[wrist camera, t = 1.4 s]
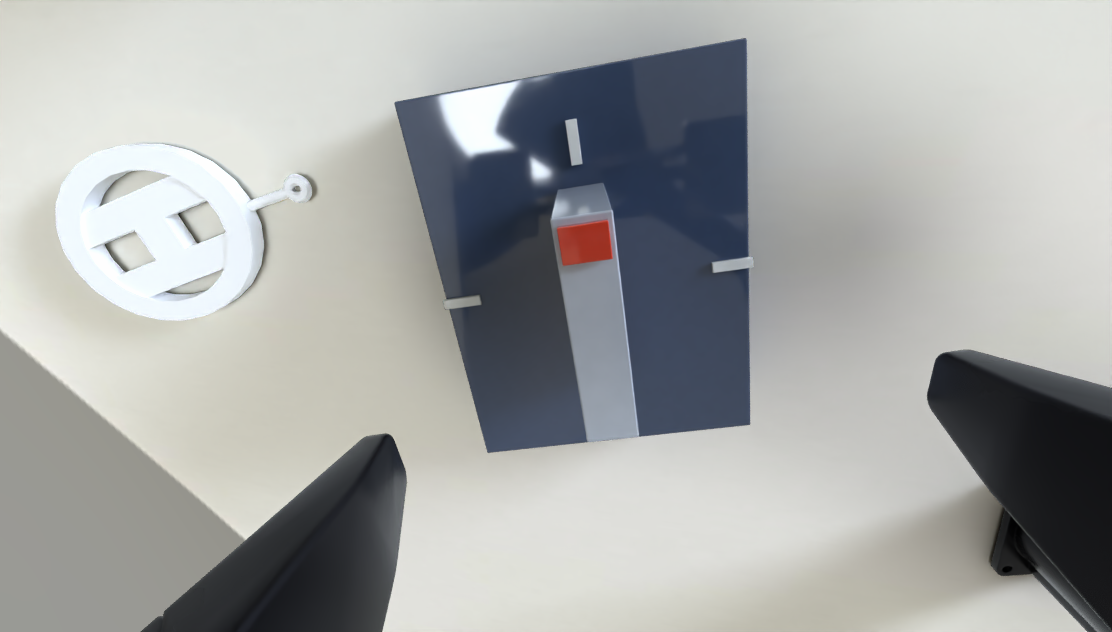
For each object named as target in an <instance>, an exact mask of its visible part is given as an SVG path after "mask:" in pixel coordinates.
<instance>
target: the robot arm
mask: <svg viewBox="0 0 1112 632" xmlns="http://www.w3.org/2000/svg"><path fill="white" fill-rule="evenodd" d="M927 400H928V404H929V406H930V409H931V410H932V412H933V413H934V415H935V416H936V417H937V419H938V420H939V421H940V423H941V424H942V426H943V427H944V428H945V430H946V431H947V433H948V434H949V435H950V437H951V438H952V440H953V441H954V442H955V444H956V445H957V447H958V448H959V449H960V451H961V452H962V454H963V455H964V456H965V458H966V459H967V460H968V462H969V463H970V465H971V466H972V467H973V469H974V470H975V472H976V473H977V474H978V476H979V477H980V478H981V480H982V481H983V482H984V484H985V485H986V486H987V488H988V489H989V490H990V492H991V493H992V494H993V495H994V496H995V498H996V499H997V500H998V501H999V502H1000V504H1001V505H1002V506H1003V507H1004V508H1005V510H1004V514H1003V518H1002V522H1001V526H1000V530H999V534H998V538H997V542H996V546H995V550H994V554H993V558H992V562H991V566H992V568H993V569H994V570H995V571H996V572H997V573H998V574H999V575H1001V576H1011V575H1024V574H1033V575H1034V576H1035V578H1036V579H1037V580H1038V581H1039V582H1040V583H1041V584H1042V585H1043V586H1044V587H1045V588H1046V589H1047V590H1048V591H1049V592H1050V593H1051V594H1052V595H1053V596H1054V597H1055V598H1056V599H1057V600H1058V602H1059V603H1060V604H1061V605H1062V606H1063V607H1064V608H1065V609H1066V610H1067V611H1068V612H1069V613H1070V614H1071V615H1072V616H1073V617H1074V618H1075V619H1076V620H1077V621H1078V622H1079V623H1080V624H1081V626H1082V627H1083V628H1084V629H1085V630H1086V631H1087V632H1112V388H1110V387H1106V386H1103V385H1099V384H1095V383H1092V382H1088V381H1084V380H1081V379H1077V378H1073V377H1070V376H1066V375H1062V374H1058V373H1055V372H1051V371H1047V370H1044V369H1040V368H1036V367H1033V366H1029V365H1025V364H1021V363H1018V362H1014V361H1010V360H1007V359H1003V358H999V357H996V356H992V355H988V354H985V353H981V352H977V351H973V350H958V351H951V352H945V353H942V354H940V355H939V356H938V357H937V358H936V360H935V363H934V367H933V371H932V376H931V380H930V384H929V388H928V392H927ZM406 484H407V478H406V471H405V468H404V465H403V462H402V460H401V457H400V454H399V452H398V449H397V446H396V444H395V441H394V439H393V437H392V436H391V435H389V434H386V433H385V434H378V435H371V436H366V437H364V438H363V439H361V440H360V441H359V442H358V443H357V444H356V445H354V446H353V447H352V448H351V449H350V450H349V451H348V452H346V453H345V454H344V455H343V456H342V457H341V458H340V459H338V460H337V461H336V462H335V463H334V464H333V465H332V466H330V467H329V468H328V469H327V470H326V471H325V472H323V473H322V474H321V475H320V476H319V477H318V478H317V479H315V480H314V481H313V482H312V483H311V484H310V485H309V486H307V487H306V488H305V489H304V490H303V491H302V492H301V493H299V494H298V495H297V496H296V497H295V498H294V499H293V500H291V501H290V502H289V503H288V504H287V505H286V506H285V507H283V508H282V509H281V510H280V511H279V512H278V513H276V514H275V515H274V516H273V517H272V518H271V519H270V520H268V521H267V522H266V523H265V524H264V525H263V526H262V527H260V528H259V529H258V530H257V531H256V532H255V533H254V534H252V535H251V536H250V537H249V538H248V539H247V540H245V541H244V542H243V543H242V544H241V545H240V546H239V547H237V548H236V549H235V550H234V551H233V552H232V553H231V554H229V555H228V556H227V557H226V558H225V559H224V560H223V561H222V562H220V563H219V564H218V565H217V566H216V567H214V568H213V569H212V570H211V571H210V572H209V573H208V574H206V576H204V577H203V578H202V579H201V580H200V581H199V582H197V583H196V584H195V585H194V586H193V587H192V588H190V589H189V590H188V591H187V592H186V593H185V594H183V595H182V596H181V597H180V598H179V599H178V600H177V601H176V602H174V603H173V604H172V605H171V606H170V607H169V608H167V609H166V610H165V611H164V614H163V616H159V617H157V618H156V619H155V620H154V621H152V622H151V623H150V624H149V625H148V626H147V627H146V628H144V629H143V630H142V631H141V632H382V630H383V626H384V621H385V617H386V613H387V609H388V604H389V600H390V596H391V591H392V587H393V582H394V577H395V572H396V566H397V559H398V551H399V543H400V534H401V526H402V518H403V509H404V501H405V493H406Z"/></svg>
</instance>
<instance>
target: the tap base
mask: <svg viewBox="0 0 1112 632" xmlns="http://www.w3.org/2000/svg"><path fill="white" fill-rule="evenodd" d="M395 107H396V111H397V115H398V119H399V122H400V126H401V130H402V134H403V137H404V141H405V145H406V149H407V152H408V156H409V160H410V164H411V167H412V171H413V175H414V179H415V182H416V186H417V190H418V194H419V197H420V201H421V205H422V209H423V212H424V216H425V220H426V224H427V227H428V231H429V235H430V239H431V242H432V246H433V250H434V254H435V257H436V261H437V265H438V269H439V272H440V276H441V280H442V284H443V287H444V291H445V295H446V299H445V300H443V304H444V308H445V310H447V309H449V310H450V314H451V317H452V321H453V325H454V329H455V332H456V336H457V340H458V344H459V347H460V351H461V355H462V359H463V362H464V366H465V370H466V374H467V377H468V381H469V385H470V389H471V392H472V396H473V400H474V404H475V407H476V411H477V415H478V419H479V422H480V426H481V430H482V434H483V437H484V441H485V445H486V449H487V452H488V453H491V452H500V451H510V450H519V449H528V448H538V447H547V446H556V445H566V444H575V443H585V442H588V441H587V438H586V432H585V426H584V420H583V414H582V408H581V402H580V396H579V390H578V384H577V378H576V372H575V366H574V360H573V354H572V348H571V342H570V336H569V330H568V324H567V318H566V313H565V307H564V301H563V295H562V289H561V283H560V277H559V271H558V265H557V259H556V253H555V247H554V241H553V235H552V229H551V223H550V220H551V215H552V211H553V206H554V202H555V197H556V193H557V190H560V189H566V188H573V187H579V186H585V185H592V184H598V183H604V185H605V188H606V191H607V194H608V198H609V201H610V204H611V207H612V210H613V216H614V224H615V233H616V242H617V250H618V259H619V267H620V276H621V285H622V293H623V302H624V310H625V319H626V327H627V336H628V345H629V353H630V362H631V370H632V379H633V388H634V396H635V405H636V413H637V422H638V431H639V436H638V437H641V436H650V435H659V434H669V433H678V432H687V431H697V430H706V429H715V428H725V427H734V426H744V425H750V348H749V268H753V257H749V239H748V130H747V39H746V38H743V39H737V40H732V41H726V42H721V43H715V44H710V45H704V46H699V47H693V48H688V49H682V50H677V51H671V52H666V53H660V54H655V55H650V56H644V57H639V58H633V59H628V60H622V61H617V62H611V63H606V64H600V65H595V66H589V67H584V68H578V69H573V70H567V71H562V72H556V73H551V74H545V75H540V76H534V77H529V78H523V79H518V80H512V81H507V82H501V83H496V84H490V85H485V86H479V87H474V88H468V89H463V90H457V91H452V92H447V93H441V94H436V95H430V96H425V97H419V98H414V99H408V100H403V101H397V102H395Z"/></svg>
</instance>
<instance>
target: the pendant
mask: <svg viewBox="0 0 1112 632" xmlns="http://www.w3.org/2000/svg"><path fill="white" fill-rule="evenodd" d="M135 170H149V171H154V172H158V173H162V174H166V175H170V176H169V177H166V178H164V179H162V180H159V181H157V182H155V183H152V184H150V185H148V186H146V187H143V188H141V189H139V190H136V191H134V192H132V193H129V194H127V195H125V196H123V197H120V198H118V199H116V200H113V201H111V202H109V203H106V204H104V205H102V206H100V204H101V201H102V198H103V195H104V193H105V192H106V191H107V190H108V188H109V187H110V186H111V184H112V183H113V182H114V181H116V180H117V179H119V178H120V177H122V176H123V175H125V174H126V173H128V172H132V171H135ZM295 186H300V188H301V191H300V192H297V191H296V190H295ZM311 196H312V188H311V185H310V183H309V182H308V180H307V179H306V178H304V177H303V176H302V175H298V174H292V175H289V176H288V177H286V179H285V181H284V188H282V189H280V190H277V191H274V192H272V193H269V194H266V195H264V196H261V197H258V198H256V199H253V200H250V198H249V197H248V196H247V194H246V193H245V192H244V191H243V189H242V188H241V187H240V185H239V184H238V183H237V181H236V180H235V179H234V178H232V177H231V176H230V175H229V174H227V173H226V172H225V171H224V170H223V169H221V168H220V167H219V166H218V165H216V164H215V163H214V162H212V161H210V160H208V159H206V158H204V157H202V156H200V155H198V154H196V153H194V152H192V151H190V150H186V149H182V148H178V147H174V146H170V145H166V144H131V145H121V146H116V147H113V148H109V149H106V150H102V151H99V152H95V153H93V154H92V155H90V156H89V157H87V158H86V159H85V160H83V161H82V162H80V163H79V164H77V165H76V166H75V167H74V168H73V169H72V171H71V172H70V173H69V175H68V176H67V177H66V179H65V180H64V181H63V183H62V185H61V188H60V191H59V195H58V198H57V201H56V205H55V208H56V229H57V232H58V236H59V239H60V242H61V245H62V248H63V251H64V253H65V254H66V256H67V258H68V259H69V261H70V262H71V264H72V266H73V267H74V269H75V271H76V272H77V273H78V274H79V275H80V276H81V277H82V278H83V279H84V280H85V281H86V282H87V283H88V285H89V286H90V287H91V288H92V289H93V290H95V291H96V292H97V293H99V294H100V295H102V296H103V297H105V298H106V299H107V300H109V301H110V302H112V303H113V304H115V305H117V306H119V307H121V308H124V309H126V310H128V311H130V312H133V313H135V314H137V315H141V316H146V317H150V318H155V319H159V320H189V319H193V318H197V317H202V316H206V315H209V314H210V313H212V312H214V311H216V310H218V309H220V308H222V307H224V306H225V305H227V304H229V303H231V302H232V301H234V300H236V299H238V298H239V297H240V296H241V295H242V294H243V293H244V292H245V291H246V290H247V289H248V288H249V287H250V286H251V285H252V283H253V281H254V279H255V277H256V275H257V273H258V271H259V269H260V267H261V264H262V258H263V251H264V239H263V232H262V225H261V222H260V219H259V217H258V215H257V212H256V210H257V209H260V208H263V207H265V206H268V205H271V204H274V203H276V202H279V201H282V200H284V199H287V198H290V199H292V200H293V201H294V202H298V203H304V202H306V201H308V200H309V199H310V197H311ZM207 201H208V203H209V204H210V205H211V206H212V208H213V209H214V210H215V211H216V213H217V214H218V216H219V218H220V220H221V222H222V225H223V227H224V229H225V232H226V233H223V234H221V235H218V236H216V237H213V238H211V239H208V240H206V241H203V242H201V243H198V244H197V243H196V241H195V240H194V238H193V237H192V235H191V234H190V232H189V231H188V229H187V228H186V226H185V224H184V223H183V221H182V220H181V218H180V217H179V215H178V213H180V212H183V211H185V210H187V209H190V208H192V207H195V206H197V205H199V204H202V203H204V202H207ZM132 232H136V233H137V234H138V236H139V237H140V239H141V240H142V241H143V243H144V244H145V246H146V247H147V249H148V250H149V251H150V253H151V254H152V256H153V257H154V259H155V260H156V261H153V262H151V263H148V264H146V265H143V266H141V267H138V268H136V269H133V270H131V271H128V272H124V271H123V270H122V268H121V267H120V266H119V265H118V264H117V263H116V262H115V261H114V260H113V259H112V257H111V256H110V254H109V252H108V250H107V249H106V247H105V245H104V244H106V243H108V242H111V241H113V240H115V239H118V238H120V237H123V236H125V235H127V234H130V233H132ZM221 269H224V270H223V272H222V274H221V276H220V278H219V279H218V280H217V281H216V282H215V283H214V284H213V285H212V287H211V288H210V289H209V290H207V291H203V292H199V293H195V294H171V293H167V292H164V291H167V290H170V289H172V288H175V287H177V286H180V285H183V284H185V283H188V282H190V281H193V280H195V279H198V278H201V277H203V276H206V275H208V274H211V273H214V272H216V271H219V270H221Z"/></svg>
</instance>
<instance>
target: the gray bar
mask: <svg viewBox="0 0 1112 632" xmlns="http://www.w3.org/2000/svg"><path fill="white" fill-rule="evenodd" d="M550 223H551V229H552V235H553V241H554V247H555V253H556V259H557V265H558V271H559V277H560V283H561V289H562V295H563V301H564V307H565V313H566V318H567V324H568V330H569V336H570V342H571V348H572V354H573V360H574V366H575V372H576V378H577V384H578V390H579V396H580V402H581V408H582V414H583V420H584V426H585V432H586V438H587V441H588V442H596V441H605V440H614V439H624V438H633V437H638V436H639V431H638V422H637V413H636V405H635V396H634V388H633V379H632V370H631V362H630V353H629V345H628V336H627V327H626V319H625V310H624V302H623V293H622V285H621V276H620V267H619V259H618V250H617V242H616V233H615V224H614V216H613V210H612V207H611V204H610V201H609V198H608V194H607V191H606V188H605V185H604V183H598V184H592V185H585V186H579V187H573V188H566V189H560V190H557V193H556V197H555V202H554V206H553V211H552V215H551V220H550Z"/></svg>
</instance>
